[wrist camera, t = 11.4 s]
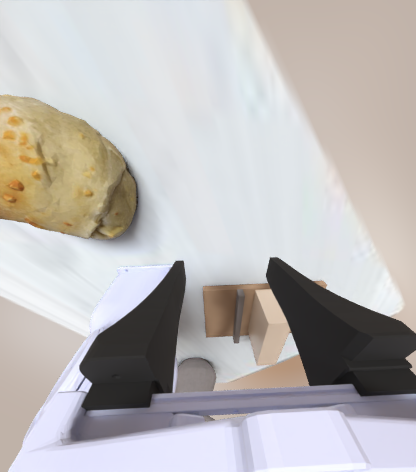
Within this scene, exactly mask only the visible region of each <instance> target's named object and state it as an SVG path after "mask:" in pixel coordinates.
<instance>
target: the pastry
mask: <svg viewBox="0 0 416 472" xmlns="http://www.w3.org/2000/svg"><path fill="white" fill-rule="evenodd" d="M136 187H137V186H136V182H135V180H134V178H133V177H132V176H131V175H130V174H129V171H128V169H127V168H126V163H125V161H124V159H123V157H122V155H121V153H120V152H119V151H118V150H117V148H116V147H115V146H114V145H113V144H112V143H111V142H110V141H109V140H107V139H106V138H104V137H102V136H101V134H100V133H99V132H98V131H97V130H95V129H94V128H92V127H91V126H90V125H89V124H88V123H87V122H86V121H85V120H81V119H79V118H76V117H74V116H71V115H69V114H66V113H63V112H60V111H58V110H57V109H55V108H53V107H51V106H50V105H48V104H45V103H43V102H41V101H39V100H36V99H34V98H29V97H17V96H12V95H0V219H6V220H13V221H18V222H24V223H29V224H31V225H32V226H34V227H37V228H40V229H45V230H49V231H56V232H61V233H63V234H68V235H73V236H78V237H82V238H86V239H88V238H90V237H91V238H94V239H99V240H108V239H112V238H117V237H119V236H121V235H122V234H123V233H124V232H125V231H126V230H127V229H128V227H129V225H130V224H131V222H132V219H133V216H134V213H135V210H136V207H137V205H136V204H137V199H136V198H138V197H136Z"/></svg>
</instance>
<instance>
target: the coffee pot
mask: <svg viewBox="0 0 416 472" xmlns="http://www.w3.org/2000/svg"><path fill="white" fill-rule="evenodd" d="M215 381H216V373H215V371H214V369H213V368H212V366H211V365H210V364H209V363H208V361H206V360H204V359H201V358H190V359H187V360H184V361H183V362H182V364H181V365H179V367H178V379H177V386H176V391H175V393H184V392H204V391H213V389H214V385H215ZM203 417H204V418H205V421H206V422H208V421H214V420H215V419H213V418H211V417H210V416H208V415H207V416H203Z"/></svg>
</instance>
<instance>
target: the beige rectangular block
mask: <svg viewBox="0 0 416 472" xmlns="http://www.w3.org/2000/svg"><path fill="white" fill-rule="evenodd" d="M289 332H290V328H289V325H288V323H287V320H286V318H285V316H284V314H283V312H282V310H281V308H280V306H279V304H278V302H277V300H276V298H275V296H274V294H273V292H272V290H271V289H263V290H255V294H254V300H253V305H252V311H251V317H250V322H249V328H248V333H249V337H250V341H251V345H252V349H253V353H254V357H255V360H256V364H257V365H274V364H276V362H277V360H278V358H279V355H280V353H281V351H282V348H283V346H284V344H285V341H286V339H287V336H288V334H289Z"/></svg>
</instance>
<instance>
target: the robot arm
mask: <svg viewBox="0 0 416 472" xmlns="http://www.w3.org/2000/svg"><path fill="white" fill-rule="evenodd" d="M117 272H118V276H117V277H116V278H115V280H114V281H113V283H112V284H111V285H110V287H109V288H108V290H107V291H106V292H105V294H104V295H103V297H102V298H101V299H100V301H99V302H98V304H97V305H96V307H95V309H94V311H93V314H92V317H91V321H90V333H91V334H90V335H89V336H88V337H87V339H86V340H85V342H84V343H83V344H82V345H81V347H80V348H79V349H78V351H77V352H76V354H75V355H74V357H73V358H72V360H71V361H70V362H69V364H68V366H67V367H66V368H65V370H64V372H63V373H62V375H61V376H60V378H59V379H58V381H57V382H56V384H55V386H54V387H53V389H52V391H51V392H50V394H49V396H48V398H47V399H46V401H45V403H44V405H43V406H42V407H41V409H40V410H39V412H38V413H37V415H36V417H35V418H34V420H33V422H32V424H31V425H30V427H29V429H28V431H27V433H26V435H25V437H24V440H23V446H22V449H21V451H20V452H19V454H18V455H17V457H16V459H15V460H14V462H13V464H12V465H11V467H10V468H9V470H8V472H416V375H415V374H414V373H413V372H412V371H411V370H410V369H409V368H412V365H411V364H410V363H409V362H408V361H407V360H406V359H405V358H406V357H407V356H409V355H410V354H411V353H412V352H414V351H415V350H416V333H414V332H413V331H412V330H411V329H410V328H409V327H407V326H406V325H405V324H404V323H403V322H401V321H399V320H396V319H393V318H391V317H388V316H385V315H383V314H380V313H377V312H375V311H372V310H370V309H367V308H365V307H363V306H360V305H358V304H356V303H353V302H351V301H349V300H347V299H345V298H343V297H341V296H338V295H336V294H334V293H332V292H331V291H329V290H327V289H325V288H323V287H321V286H320V285H318V284H316V283H315V282H313V281H311V280H310V279H308V278H307V277H305V276H304V275H302V274H301V273H299V272H298V271H296V270H295V269H293V268H292V267H291V266H289V265H288V264H286V263H285V262H284V261H282V260H281V259H279V258H278V257H273V258H270V260H269V264H268V269H267V273H266V278H267V281H268V284H269V286H270V288H271V290H272V292H273V294H274V296H275V298H276V300H277V302H278V304H279V306H280V308H281V310H282V312H283V314H284V316H285V318H286V320H287V323H288V325H289V328H290V330H291V333H292V335H293V338H294V341H295V343H296V346H297V349H298V352H299V354H300V357H301V360H302V363H303V366H304V369H305V373H306V376H307V379H308V382H309V385H310V386H304V387H285V388H264V389H246V390H245V389H244V390H227V391H226V390H224V391H204V392H184V393H175V391H176V386H177V379H178V368H177V359H176V356H175V355H176V344H177V334H178V325H179V318H180V313H181V308H182V303H183V298H184V293H185V284H186V276H185V268H184V261H176V262H175V263H174V264H173V265H159V266H138V267H119V268H118V269H117ZM244 413H251V414H248V415H246V416H242V417H234V418H228V419H221V420H214V421H208V422H205V418H204V417H203V416H207V415H224V414H225V415H226V414H244Z"/></svg>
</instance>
